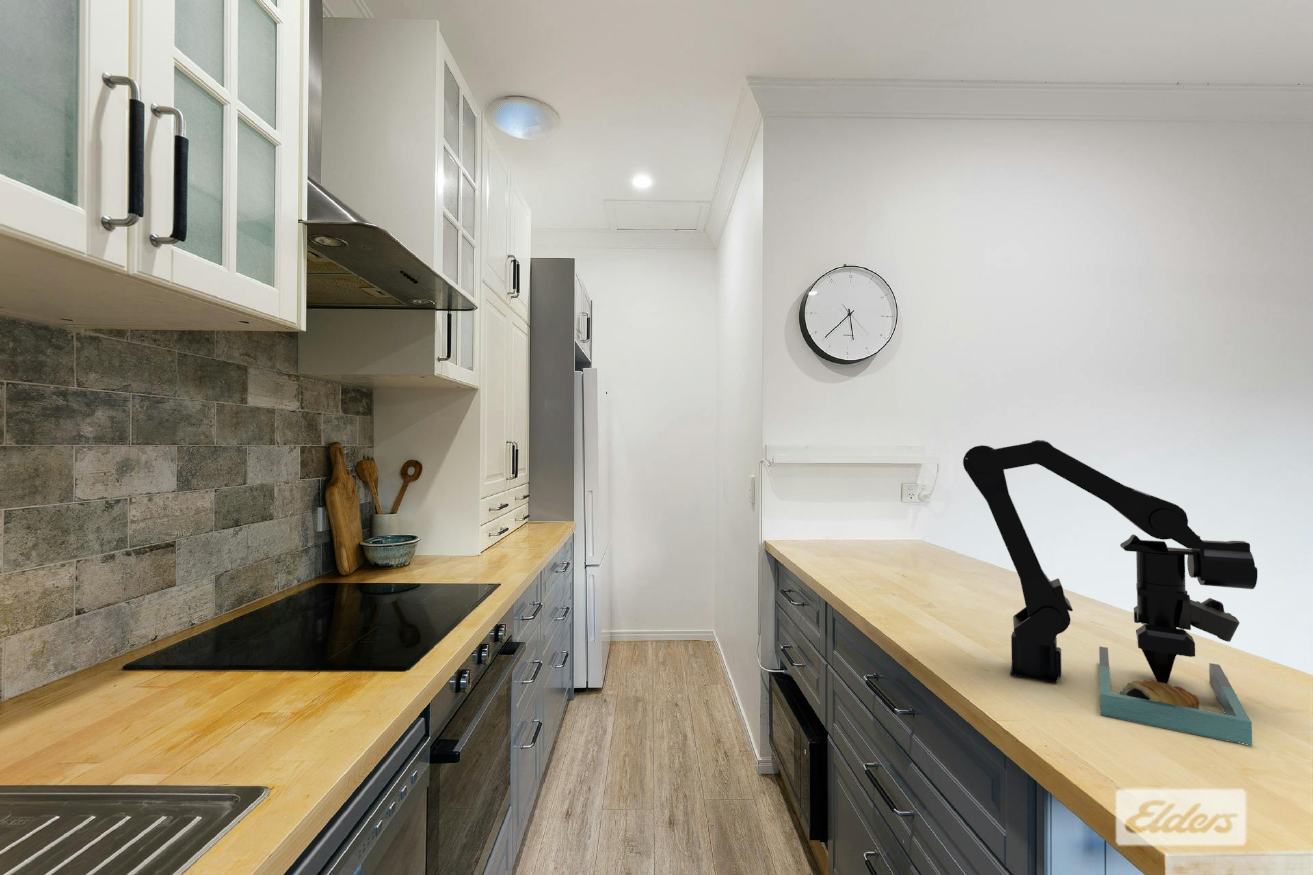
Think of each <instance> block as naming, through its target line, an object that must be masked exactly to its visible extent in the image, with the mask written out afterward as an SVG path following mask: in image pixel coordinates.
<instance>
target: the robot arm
mask: <svg viewBox="0 0 1313 875" xmlns="http://www.w3.org/2000/svg"><path fill="white" fill-rule="evenodd" d="M962 464H963V468H964V470H965V472H966V473H967V475H968V477H969V478H970V480H971V481H972V482H973V484H974V486H975V487H976V489H977V490H978V491H979V492H980V494H981V496H983V498H984V499H985V501H986V503H987V505H988V507H989V510H990V513H991V514H992V517H993V519H994V521H995V524H996V526H997V528H998V532H999V533H1000V535H1001V538H1002V540H1003V543H1004V546H1005V547H1006V549H1007V551H1008V553H1009V554H1008V555H1009V557H1010V559H1011V561H1012V563H1013V566H1014V568H1015V570H1016V573H1017V575H1018V577H1019V580H1020V585H1021V590H1022V594H1023V595H1022V596H1023V600H1024V604H1025V607H1024V608H1022V609H1021V610H1019V611H1018V612H1017V613H1015V614H1014V615H1013V617H1012V622H1013V623H1012V624H1013V631H1012V633H1011V636H1010V638H1011V640H1010V642H1011V644H1010V647H1011V669H1010V670H1009V675H1010V676H1013V677H1016V678H1017V677H1018V678H1024V679H1029V680H1034V681H1038V682H1039V681H1040V682H1044V683H1050V684H1058V679H1059V678H1062V648H1061V647H1058V640H1057V639H1058V638H1057V636H1058V635H1059V634H1062V633H1064V632H1065V631H1066V630H1067V629H1068V628H1069V626H1070V625H1071V616H1070V612H1073V611H1074V609H1073V607H1072V605H1071V602H1070V600H1069V599H1068V598H1067V597H1066V596H1065V593H1064V588H1063V585H1062V583H1061V581H1060V578H1055V579H1053V580H1050V579H1049V577H1048V575H1047V574H1046V573H1045V571H1044V570H1043V569H1042V566H1041V564H1040V562H1039V559H1038V557H1037V555H1036V552H1035V550H1034V548H1033V545H1032V543H1031V541H1030V539H1029V536H1028V534H1027V532H1026V530H1025V527H1024V525H1023V523H1022V520H1021V518H1020V516H1019V513H1018V511H1017V509H1016V506H1015V503H1014V502H1013V498H1012V497H1011V495H1010V491H1009V489H1008V483H1007V480H1006V475H1005V470H1010V469H1015V468H1021V467H1026V466H1031V465H1038V466H1041V467H1043V468H1045V469H1046V470H1048V471H1050V472H1052V473H1053V474H1056V475H1057V476H1059V477H1061V478H1062V479H1064V480H1066V481H1068V482H1069V483H1071V484H1073V485H1075V486H1077V487H1078V488H1080V489H1082V490H1083V491H1086V492H1087V493H1089V494H1090V495H1092V496H1095V497H1096V498H1098V499H1100V500H1102V501H1103V502H1105V503H1107V504H1108V505H1109V506H1110V507H1112V508H1113V509H1114V510H1115V511H1116V512H1118V513H1119V514H1121V515H1122V516H1123V517H1124V518H1125V519H1127V520H1128V521H1129V522H1131V523H1132V524H1133V525H1134V526H1135V527H1137V529H1139V530H1141V531H1142V532H1144V533H1145V534H1147V535H1149V536H1150V537H1151V538H1155V539H1157V540H1150V539H1149V540H1145V539H1141V538H1140V537H1139V536H1137V535H1136V534H1133V533H1132V534H1131V535H1130V536H1129V538H1128V539H1126V540H1124V542H1123V541H1122V542H1121V543H1120V544H1119V546H1120V548H1122V550H1124V551H1125V552H1135V555H1136V557H1135V558H1136V584H1135V585H1136V586H1135V587H1136V589H1135V590H1136V600H1137V602H1136V604H1137V605H1136V606H1135V607H1133V622H1134V623H1136V624H1142V626H1140V627H1138V628H1137V629H1136V630H1135V633H1136V642H1137V647H1138V649H1140V650H1141V651H1142V653H1143V655H1144V658H1145V659H1146V661H1147V663H1148V666H1149V667H1150V670H1151V671H1152V674H1153V676H1154V678H1155V681H1157V682H1161V683H1166V684H1169V681H1170V677H1171V673H1172V671H1173V667H1174V663H1175V660H1176V656H1181V657H1182V656H1183V657H1189V658H1194V657H1196V643H1195V640H1194V638H1193V636H1192V635H1190V633H1189V632H1187V631H1192V627H1194V628H1196V629H1198V630H1201V631H1203V632H1204V633H1205V632H1206V633H1208V634H1210V635H1213V636H1216V637H1217V638H1218V639H1220V640H1222V641H1224V642H1227V643H1230V642H1231V641H1232V639H1233V637H1234V635H1235V633H1236V631H1237V628H1238V627H1239V626H1240V621H1239V619H1238V618H1237V617H1236V616H1234V615H1233V614H1232V613H1229V612H1225V607H1224V604H1223V602H1222V601H1219V600H1216V599H1213V598H1211V597H1209V598H1207V599H1205V600H1204V601H1203V602H1201V601H1198V600H1193V599H1191V596H1190V594H1188V590H1186V565H1187V571H1188V572H1187V573H1188V575H1189V577H1190V578H1192V579H1197V581H1198V583H1199V585H1200V586H1206V587H1207V586H1210V587H1221V588H1234V589H1243V590H1244V589H1245V590H1254V589H1255V588H1256V586H1257V583H1258V567H1257V566H1256V565H1255V563H1256V562H1255V559H1254V556H1253V553H1252V552H1251V545H1250V543H1249V542H1247V541H1244V540H1228V541H1224V540H1223V541H1222V540H1221V541H1220V540H1204V539H1203V540H1202V539H1201V536H1200V535H1198V534H1197V533H1195V531H1194V530H1193V529H1192V528H1191V527H1190V526H1189V524H1188V523H1189V519H1188V515H1187V512H1186V511H1185V510H1184V509H1183V507H1181V506H1179V505H1177V504H1175V503H1173V502H1170V501H1168V500H1165V499H1162V498H1159V497H1157V496H1155V495H1152V494H1149V493H1147V492H1143V491H1140V490H1138V489H1135V488H1133V487H1130V486H1127V485H1124V484H1122V482H1121V483H1120V481H1118V480H1115V479H1113V478H1111V477H1109V476H1108V475H1106V474H1104V473H1102V472H1100V470H1096V469H1095V468H1093V467H1091V466H1090V465H1087V464H1086V463H1084V462H1082V461H1080V460H1078V459H1076V458H1075V457H1073V456H1071V455H1070V454H1068V453H1066V452H1063V451H1062V450H1060V449H1058V448H1057V447H1055V446H1053V445H1052V444H1051V443H1050V442H1048V441H1046V440H1043V439H1035V440H1032V441H1030V442H1027V443H1020V444H1016V445H1009V446H1003V447H998V448H994V447H992V446H989V445H983V444H981V445H976V446H973V447H971V448H969V450H967V452H966V453H965V455H964V457H963V458H962ZM1162 540H1163V541H1162ZM1165 540H1172V541H1174V542H1176V543H1178V544H1179V545H1180V546H1181V545H1182V546H1183V547H1184V548H1181V547H1172V546H1171V547H1169V546H1168V545H1167V543H1166V541H1165ZM1186 556H1187V560H1186ZM1186 561H1187V562H1186ZM1191 626H1192V627H1191ZM1186 630H1187V631H1186Z"/></svg>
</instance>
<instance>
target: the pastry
mask: <svg viewBox="0 0 1313 875" xmlns="http://www.w3.org/2000/svg"><path fill="white" fill-rule="evenodd" d="M1119 694H1120V695H1125V696H1130V697H1136V698H1141V699H1146V700H1152V701H1157V702H1162V703H1168V704H1173V705H1178V706H1184V707H1189V708H1194V709H1199V707H1200V699H1199V698H1198V696H1197V695H1196V694H1194V693H1192V692H1191V691H1188V690H1186V689H1185V688H1183V687H1181V686H1176V685H1172V684H1170V683H1168V684H1166V683H1161V682H1157V680H1153V679H1150V680H1149V679H1143V680H1137V679H1136V680H1135V679H1134V680H1132V681H1131V682H1130V681H1129V682H1127V684H1125V686H1124V687H1122V690H1120V692H1119Z"/></svg>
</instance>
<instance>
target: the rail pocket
mask: <svg viewBox="0 0 1313 875" xmlns="http://www.w3.org/2000/svg"><path fill="white" fill-rule="evenodd" d="M1098 651H1099V655H1098V656H1099V657H1098V658H1099V661H1098V662H1099V691H1100V693H1099V694H1100V700H1099V701H1100V716H1105V717H1108V718H1113V719H1118V720H1121V721H1122V720H1124V721H1127V722H1133V723H1137V724H1138V723H1139V724H1142V725H1143V724H1144V725H1147V726H1151V727H1157V728H1162V729H1166V730H1171V731H1176V732H1182V733H1187V734H1192V735H1196V736H1201V737H1205V738H1210V739H1215V738H1216V739H1215V740H1219V739H1220V740H1221V741H1224V740H1228V741H1227V742H1229V741H1232V742H1231V743H1234V742H1240V743H1244V744H1248V745H1247V746H1249V745H1252V746H1253V727H1252V726H1253V725H1252V723H1253V722H1252V720H1251V719H1250V717H1249V715H1248V713H1247V712H1246V709H1245V708H1244V706H1243V704H1242V703H1241V701H1240V699H1239V697H1238V695H1237V694H1236V692H1235V690H1234V688H1233V686H1232V685H1231V683H1230V681H1229V679H1228V677H1227V675H1226V674H1225V672H1224V671H1223V669H1222V667H1221V665H1220V664H1218V663H1217V664H1216V663H1211V662H1209V663H1208V664H1209V665H1208V667H1209V671H1208V674H1209V678H1208V679H1209V684H1210V685H1211V686H1210V687H1212V690H1213V692H1214V694H1215V696H1216V695H1217V696H1216V698H1217V697H1218V698H1217V700H1218V699H1219V701H1220V703H1219V704H1221V705H1220V706H1222V707H1221V708H1223V709H1222V711H1223V710H1224V711H1223V713H1221V712H1220V713H1219V712H1215V711H1211V710H1210V711H1209V710H1204V709H1201V708H1200V709H1199V708H1198V709H1194V708H1189V707H1184V706H1178V705H1173V704H1168V703H1162V702H1157V701H1152V700H1146V699H1141V698H1136V697H1130V696H1125V695H1120V693H1114V692H1112V691H1111V688H1112V687H1111V678H1110V677H1111V675H1110V663H1109V662H1110V660H1109V647H1106V646H1105V647H1104V646H1100V645H1099V647H1098ZM1219 701H1218V702H1219ZM1224 712H1225V713H1224ZM1244 744H1243V745H1244Z"/></svg>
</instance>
